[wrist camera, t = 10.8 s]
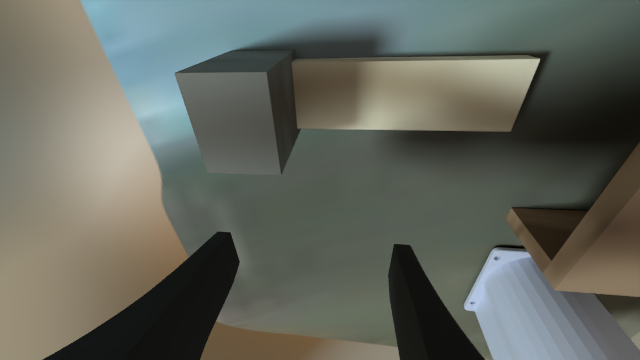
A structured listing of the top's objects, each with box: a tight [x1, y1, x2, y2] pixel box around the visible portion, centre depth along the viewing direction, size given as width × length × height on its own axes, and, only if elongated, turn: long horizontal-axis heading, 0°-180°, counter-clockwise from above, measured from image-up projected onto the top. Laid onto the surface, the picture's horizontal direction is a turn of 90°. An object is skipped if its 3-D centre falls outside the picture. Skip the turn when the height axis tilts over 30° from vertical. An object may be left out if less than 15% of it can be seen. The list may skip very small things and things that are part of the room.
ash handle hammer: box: [175, 50, 540, 175], centre depth 14 cm, size 5×17×6 cm, turn 92°
